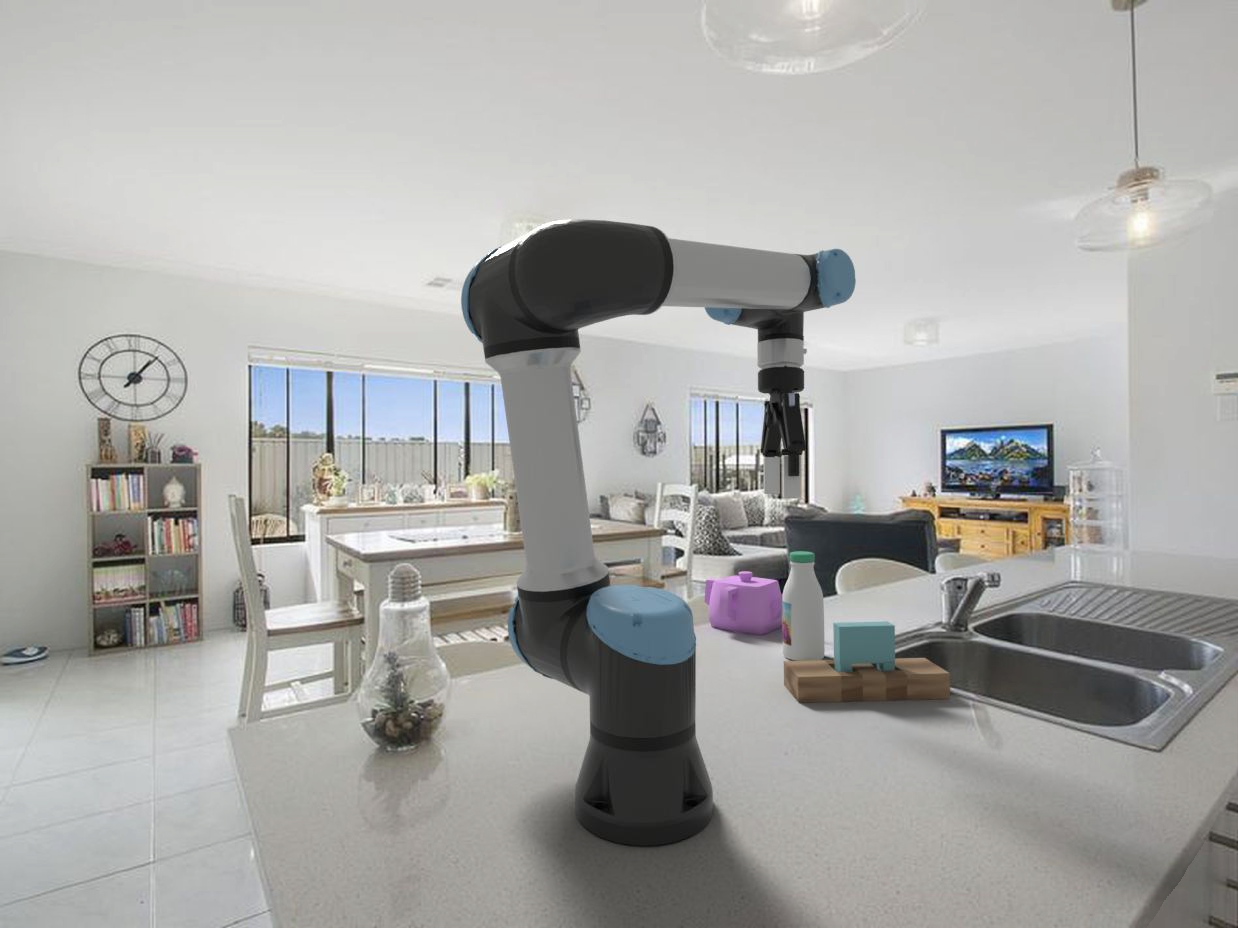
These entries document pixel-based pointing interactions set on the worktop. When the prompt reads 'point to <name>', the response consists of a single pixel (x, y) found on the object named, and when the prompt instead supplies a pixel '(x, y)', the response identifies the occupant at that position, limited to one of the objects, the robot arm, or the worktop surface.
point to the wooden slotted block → (866, 681)
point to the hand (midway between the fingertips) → (781, 495)
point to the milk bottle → (803, 611)
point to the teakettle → (744, 603)
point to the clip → (864, 645)
